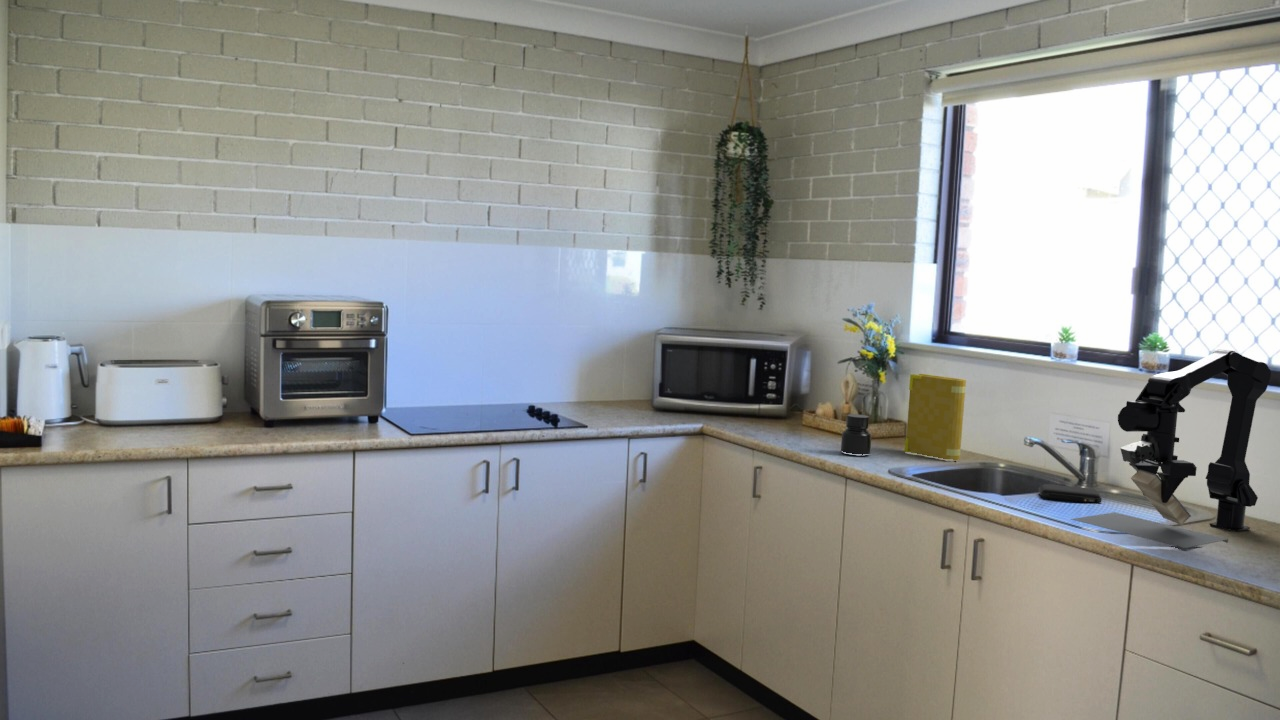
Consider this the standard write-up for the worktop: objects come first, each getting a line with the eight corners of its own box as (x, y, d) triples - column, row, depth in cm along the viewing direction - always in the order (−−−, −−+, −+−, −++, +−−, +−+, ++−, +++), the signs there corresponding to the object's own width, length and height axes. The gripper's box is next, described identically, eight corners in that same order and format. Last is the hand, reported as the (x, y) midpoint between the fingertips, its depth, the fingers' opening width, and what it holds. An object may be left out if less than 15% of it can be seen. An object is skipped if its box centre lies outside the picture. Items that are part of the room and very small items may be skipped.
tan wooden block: (1173, 509, 242) (1139, 469, 240) (1191, 516, 236) (1157, 474, 234) (1163, 518, 242) (1130, 478, 240) (1181, 525, 236) (1147, 484, 234)
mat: (1114, 514, 255) (1114, 512, 255) (1227, 541, 233) (1228, 539, 232) (1070, 521, 244) (1070, 519, 244) (1184, 550, 222) (1185, 547, 222)
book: (904, 453, 329) (910, 374, 327) (916, 451, 333) (922, 373, 331) (951, 462, 316) (958, 380, 314) (963, 460, 321) (970, 379, 319)
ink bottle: (876, 455, 322) (879, 417, 321) (861, 458, 316) (864, 419, 315) (849, 450, 329) (852, 412, 328) (833, 453, 322) (836, 414, 321)
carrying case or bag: (1040, 501, 268) (1102, 508, 264) (1041, 489, 268) (1103, 496, 263) (1037, 493, 278) (1097, 499, 274) (1038, 482, 278) (1098, 488, 274)
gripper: (1104, 423, 245) (1098, 489, 246) (1153, 437, 226) (1147, 508, 228) (1148, 425, 246) (1142, 490, 248) (1201, 438, 228) (1194, 509, 229)
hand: (1154, 499), depth 238 cm, fingers closed on tan wooden block, 6 cm apart
